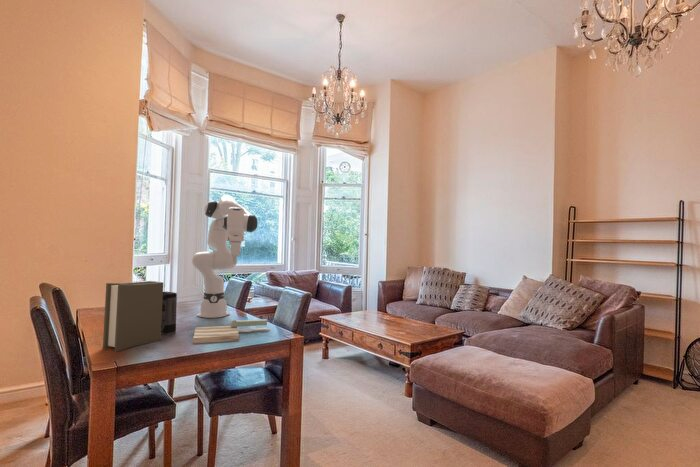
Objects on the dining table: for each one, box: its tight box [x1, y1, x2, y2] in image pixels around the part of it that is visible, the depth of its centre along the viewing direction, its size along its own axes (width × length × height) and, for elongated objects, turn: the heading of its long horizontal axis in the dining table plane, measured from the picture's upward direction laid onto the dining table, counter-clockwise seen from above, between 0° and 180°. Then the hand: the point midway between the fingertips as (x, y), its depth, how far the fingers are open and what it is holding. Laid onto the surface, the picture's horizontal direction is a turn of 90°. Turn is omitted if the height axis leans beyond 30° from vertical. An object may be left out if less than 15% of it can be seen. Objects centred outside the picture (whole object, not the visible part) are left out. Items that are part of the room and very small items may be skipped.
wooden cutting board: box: [192, 325, 271, 344], centre depth 188 cm, size 20×36×2 cm, turn 109°
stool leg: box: [230, 318, 268, 328], centre depth 198 cm, size 18×3×3 cm, turn 110°
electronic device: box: [161, 291, 178, 336], centre depth 190 cm, size 9×6×20 cm, turn 62°
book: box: [102, 280, 164, 353], centre depth 171 cm, size 22×9×28 cm, turn 154°
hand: (234, 263), depth 201 cm, fingers closed
